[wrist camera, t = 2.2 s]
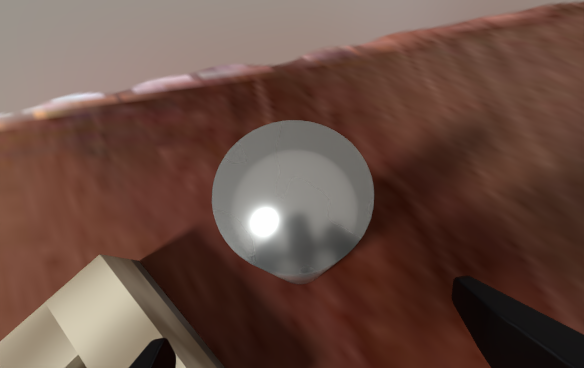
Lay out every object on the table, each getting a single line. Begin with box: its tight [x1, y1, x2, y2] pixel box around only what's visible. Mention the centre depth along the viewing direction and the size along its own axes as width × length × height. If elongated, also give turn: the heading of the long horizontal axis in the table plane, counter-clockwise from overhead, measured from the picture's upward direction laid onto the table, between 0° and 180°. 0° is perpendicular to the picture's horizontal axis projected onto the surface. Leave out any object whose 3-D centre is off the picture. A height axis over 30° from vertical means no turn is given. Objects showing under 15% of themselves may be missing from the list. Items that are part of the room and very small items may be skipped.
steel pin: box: [212, 120, 374, 284], centre depth 13 cm, size 4×4×14 cm
